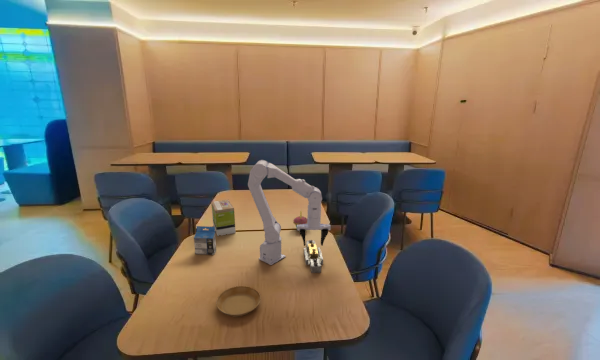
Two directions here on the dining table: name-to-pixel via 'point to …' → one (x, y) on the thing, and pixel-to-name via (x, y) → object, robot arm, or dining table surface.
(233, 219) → the tea box
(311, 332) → the dining table surface
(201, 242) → the blue and white carton
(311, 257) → the brass link
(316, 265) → the chain
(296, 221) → the cupcake
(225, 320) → the dining table surface
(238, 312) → the plant saucer
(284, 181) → the robot arm
